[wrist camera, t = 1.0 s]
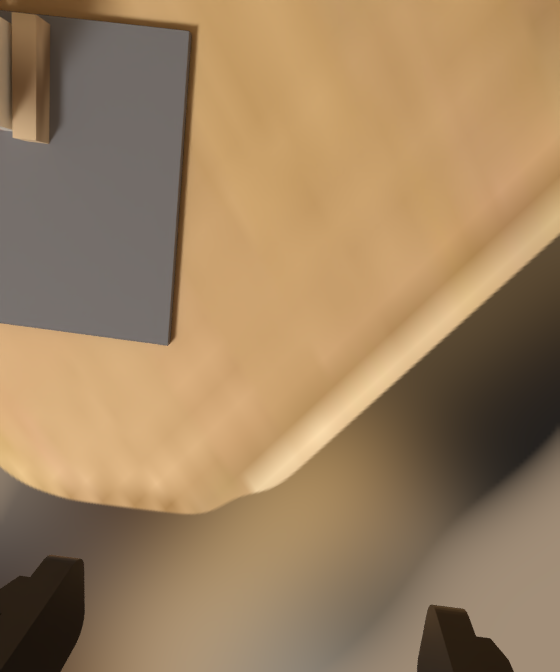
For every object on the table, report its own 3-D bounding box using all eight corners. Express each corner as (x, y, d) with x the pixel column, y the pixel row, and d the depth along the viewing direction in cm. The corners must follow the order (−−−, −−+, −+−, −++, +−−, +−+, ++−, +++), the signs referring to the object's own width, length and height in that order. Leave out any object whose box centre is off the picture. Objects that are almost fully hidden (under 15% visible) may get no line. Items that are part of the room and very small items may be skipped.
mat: (-57, 7, 32) (-64, 3, 31) (191, 34, 31) (189, 31, 31) (-46, 314, 37) (-52, 316, 36) (169, 343, 36) (167, 345, 36)
